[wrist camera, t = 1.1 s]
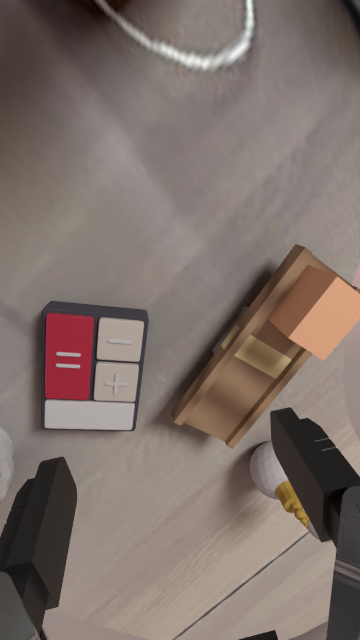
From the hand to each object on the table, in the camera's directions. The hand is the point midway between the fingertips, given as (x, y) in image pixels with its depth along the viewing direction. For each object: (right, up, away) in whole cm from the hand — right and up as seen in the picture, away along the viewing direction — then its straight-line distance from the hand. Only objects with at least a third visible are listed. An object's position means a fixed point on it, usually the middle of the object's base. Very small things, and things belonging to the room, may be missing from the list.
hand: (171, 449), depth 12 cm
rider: (+14, +7, +22) cm, 27 cm away
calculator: (-10, 0, +27) cm, 29 cm away
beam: (+9, +2, +28) cm, 30 cm away
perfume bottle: (+15, -15, +36) cm, 42 cm away
